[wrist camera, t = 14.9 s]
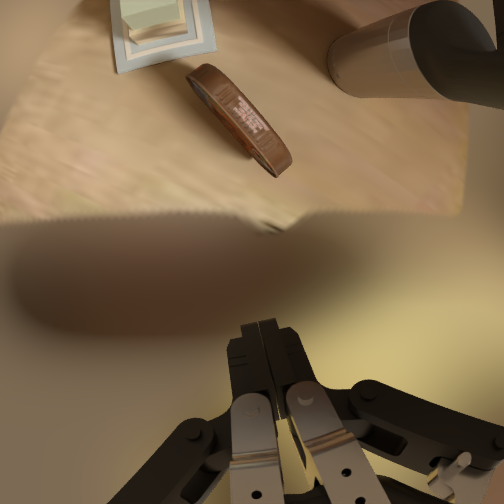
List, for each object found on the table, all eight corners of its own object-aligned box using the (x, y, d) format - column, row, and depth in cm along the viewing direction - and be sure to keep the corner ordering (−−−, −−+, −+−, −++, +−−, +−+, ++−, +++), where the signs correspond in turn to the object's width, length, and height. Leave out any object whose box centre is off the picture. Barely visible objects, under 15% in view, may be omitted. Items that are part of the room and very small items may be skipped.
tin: (185, 82, 30) (179, 73, 23) (206, 66, 30) (206, 52, 22) (265, 172, 36) (281, 188, 29) (284, 157, 36) (305, 169, 28)
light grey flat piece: (204, -26, 23) (204, -28, 23) (216, 51, 29) (217, 50, 28) (110, -3, 22) (109, -5, 22) (119, 74, 28) (117, 73, 27)
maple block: (182, -6, 24) (179, -21, 20) (188, 33, 27) (185, 22, 23) (133, 5, 23) (125, -7, 20) (138, 45, 26) (129, 36, 22)
